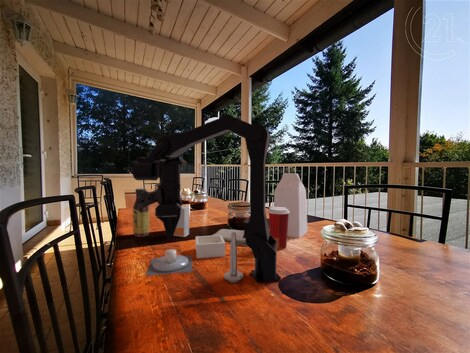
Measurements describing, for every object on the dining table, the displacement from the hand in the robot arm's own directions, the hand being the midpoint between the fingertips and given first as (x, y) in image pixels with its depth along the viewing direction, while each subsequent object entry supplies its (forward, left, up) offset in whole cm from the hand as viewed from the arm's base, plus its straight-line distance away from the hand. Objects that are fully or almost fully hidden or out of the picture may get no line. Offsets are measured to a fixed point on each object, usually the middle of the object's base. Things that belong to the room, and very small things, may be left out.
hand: (170, 234), depth 71 cm
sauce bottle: (+36, +14, -10) cm, 40 cm away
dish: (+8, -12, -10) cm, 17 cm away
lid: (0, 0, -9) cm, 9 cm away
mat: (0, 0, -10) cm, 10 cm away
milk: (+28, -49, -10) cm, 57 cm away
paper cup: (+11, -37, -10) cm, 40 cm away
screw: (-13, -16, -10) cm, 23 cm away
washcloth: (+23, -23, -10) cm, 34 cm away
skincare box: (+33, -2, -10) cm, 34 cm away
